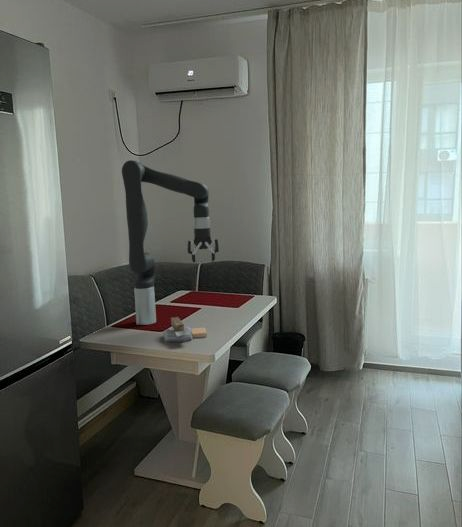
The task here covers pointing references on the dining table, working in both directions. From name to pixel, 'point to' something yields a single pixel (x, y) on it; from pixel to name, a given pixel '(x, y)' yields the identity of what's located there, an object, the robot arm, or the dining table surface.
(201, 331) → the tile
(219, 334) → the dining table surface
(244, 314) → the dining table surface
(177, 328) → the spatula
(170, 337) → the stone block
